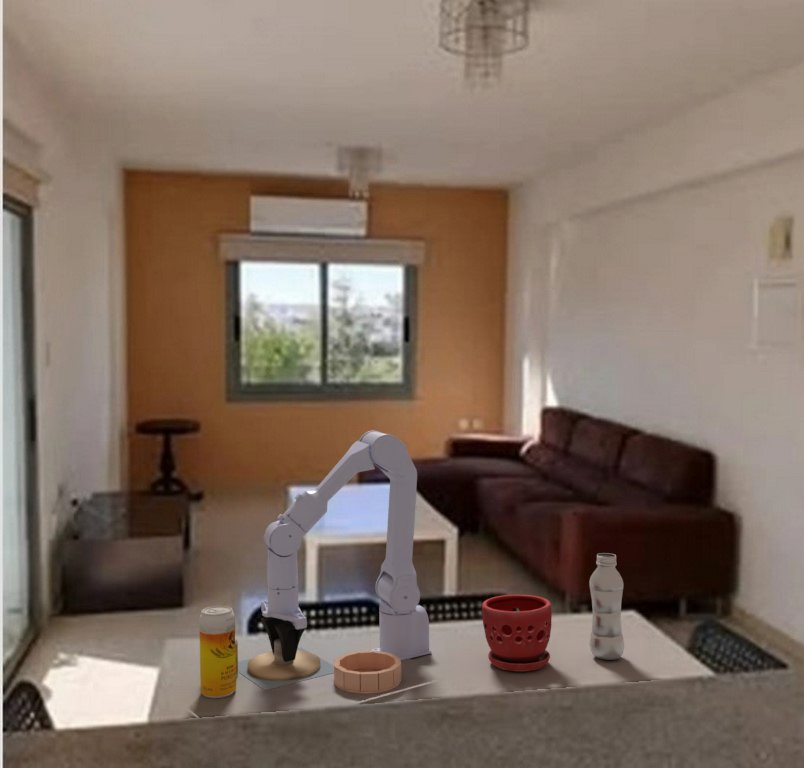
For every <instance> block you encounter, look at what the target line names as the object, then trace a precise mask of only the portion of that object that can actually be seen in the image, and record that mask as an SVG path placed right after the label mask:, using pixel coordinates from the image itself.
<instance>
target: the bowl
mask: <svg viewBox="0 0 804 768" xmlns="http://www.w3.org/2000/svg"><path fill="white" fill-rule="evenodd" d="M333 665H334V673H333V678H334V680H333V681H334V685H335V687H337V688H338V689H340V690H342V691H345V692H348V693H353V694H354V693H355V694H378V693H383V692H386V691H390V690H394V689H395V688H397V687H398V686H399V685H400V684H401V682H402V660H400V658H399V657H398V656H396V655H393V654H391V653H388V652H381V651H371V650H358V651H352V652H349V653H348V652H347V653H345V654H341V655H340V656H339V657H336V658H335V659H334V660H333Z"/></svg>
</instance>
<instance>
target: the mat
mask: <svg viewBox="0 0 804 768" xmlns="http://www.w3.org/2000/svg"><path fill="white" fill-rule="evenodd" d="M297 650H300V651H306V652H309V651H308V650H306V649H305V648H303V647H298V648H297ZM319 658H320V669H319V670H318V671H317V672H315V673H314V674H312V675H309V676H307V677H303V678H299V679H294V680H284V681H272V680H264V679H259V678H256V677H254V676H252V675H250V674H249V673H248V662H249V660H251V659H252V658H247V659H244V660H240V661H238V674H240V675H242V676H243V677H244V678H246V679H247V680H249V681H250V682H252V683H253V684H255V685H257V686H258V687H259V688H260V689H262V690H264V691H268V690H272V689H277V688H280V687H284V686H288V685H292V684H296V683H301V682H304V681H307V680H311V679H315V678H319V677H320V678H321V677H324V676H327V675H332V674H334V664H332V663H330V662H328V661H326V660H325V659H323V658H321V657H319Z"/></svg>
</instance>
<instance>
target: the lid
mask: <svg viewBox="0 0 804 768" xmlns="http://www.w3.org/2000/svg"><path fill="white" fill-rule="evenodd" d="M320 658H321V657H319V656H318V655H317V654H316V653H313V652H310V651H308V652H306V651H300V650H297V653H296V657H295V660H292V661H288V662H285V661H284V660H283V657H282V649H281V642H280V639H277V640H275V641H274V655H273V652H272V651H268V652H264V653H261V654H258V655H255V656H254V657H252V658H250V659H251V660H249V662H248V673H249V674H250V675H252V676H254V677H256V678H259V679H264V680H272V681H284V680H294V679H299V678H303V677H307V676H309V675H312V674H314V673H315V672H317V671H318V670H319V669H320Z"/></svg>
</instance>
